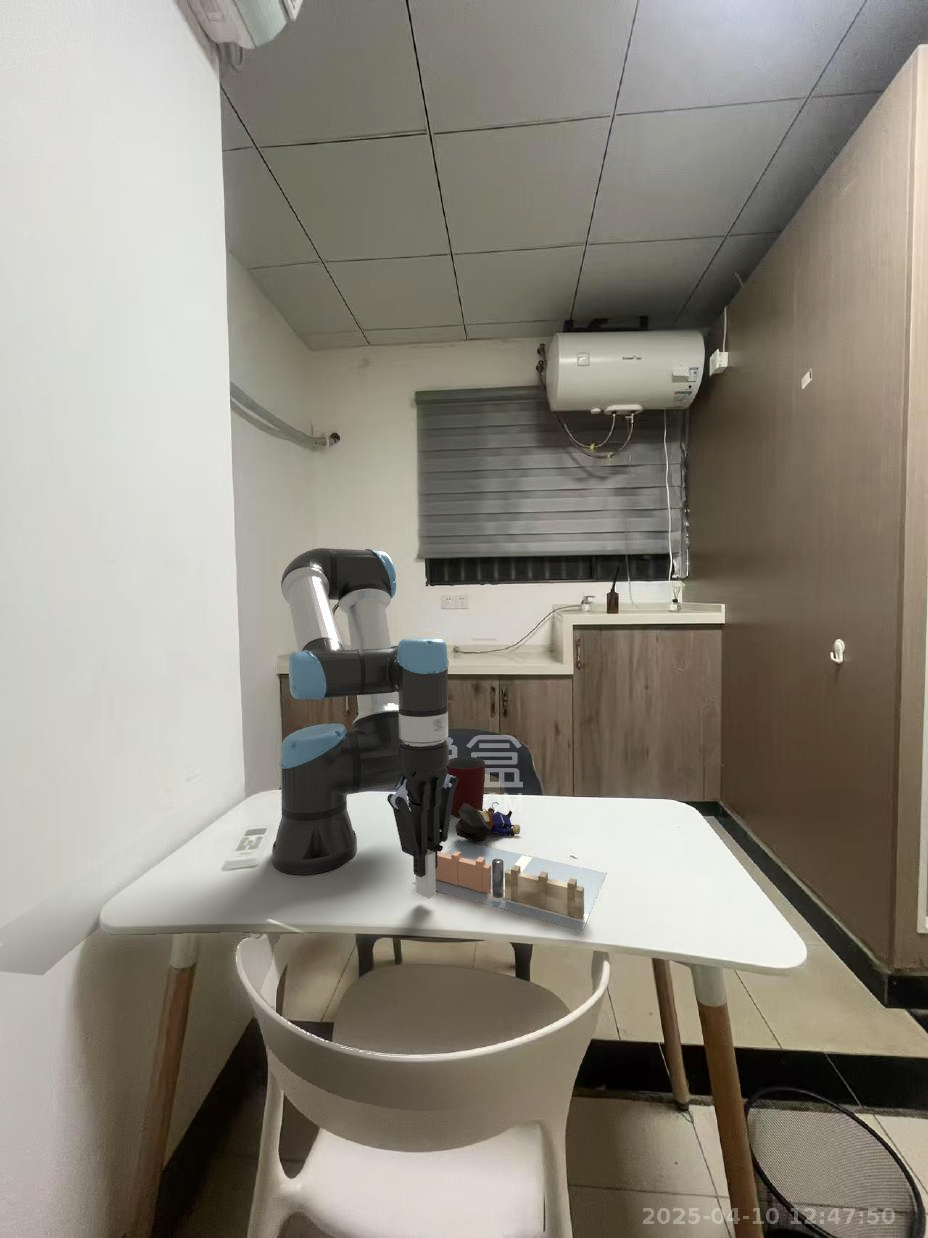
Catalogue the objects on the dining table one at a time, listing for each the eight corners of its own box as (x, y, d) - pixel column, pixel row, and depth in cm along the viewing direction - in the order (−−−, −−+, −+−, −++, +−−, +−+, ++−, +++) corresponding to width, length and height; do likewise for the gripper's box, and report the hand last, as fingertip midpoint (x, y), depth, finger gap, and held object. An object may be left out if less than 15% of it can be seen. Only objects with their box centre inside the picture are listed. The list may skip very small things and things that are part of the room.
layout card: (412, 885, 83) (412, 883, 83) (459, 841, 98) (459, 840, 98) (582, 933, 70) (582, 930, 70) (606, 874, 85) (606, 872, 85)
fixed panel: (504, 898, 78) (504, 867, 78) (508, 893, 79) (507, 863, 79) (581, 919, 72) (581, 886, 72) (584, 913, 74) (584, 881, 73)
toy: (531, 824, 101) (479, 823, 92) (517, 852, 102) (464, 854, 92) (503, 797, 108) (452, 793, 99) (490, 823, 109) (438, 822, 99)
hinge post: (490, 898, 79) (490, 863, 78) (495, 892, 80) (494, 857, 80) (501, 901, 78) (500, 865, 78) (505, 895, 79) (505, 860, 79)
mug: (428, 818, 109) (427, 767, 109) (436, 802, 118) (435, 755, 118) (483, 820, 107) (483, 769, 107) (487, 804, 116) (486, 757, 116)
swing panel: (491, 889, 80) (491, 859, 80) (488, 894, 79) (487, 863, 79) (427, 872, 86) (427, 844, 86) (422, 876, 84) (422, 848, 84)
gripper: (408, 754, 69) (410, 923, 69) (470, 735, 79) (472, 884, 79) (374, 744, 74) (376, 902, 74) (436, 728, 84) (438, 868, 84)
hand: (426, 893), depth 77 cm, fingers closed
